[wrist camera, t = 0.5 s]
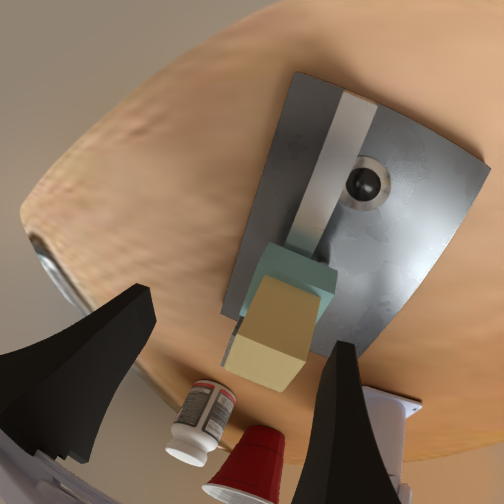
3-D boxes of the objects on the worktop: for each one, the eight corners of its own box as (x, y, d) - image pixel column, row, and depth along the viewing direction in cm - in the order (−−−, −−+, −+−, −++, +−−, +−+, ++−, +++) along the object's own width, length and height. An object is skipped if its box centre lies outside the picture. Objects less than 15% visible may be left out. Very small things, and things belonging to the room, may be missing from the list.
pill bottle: (193, 391, 38) (161, 452, 30) (196, 372, 34) (158, 440, 26) (233, 408, 37) (205, 471, 29) (241, 391, 34) (209, 463, 26)
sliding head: (316, 290, 21) (287, 400, 14) (262, 268, 21) (211, 369, 14) (341, 245, 18) (322, 359, 11) (280, 219, 18) (227, 321, 12)
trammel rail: (286, 341, 25) (270, 389, 21) (241, 322, 25) (219, 368, 21) (401, 114, 13) (420, 131, 9) (330, 83, 14) (320, 86, 10)
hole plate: (351, 357, 25) (350, 367, 24) (224, 305, 26) (219, 314, 25) (485, 163, 13) (492, 169, 12) (298, 71, 15) (294, 71, 14)
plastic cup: (289, 418, 34) (261, 503, 25) (310, 449, 39) (289, 518, 29) (217, 412, 39) (184, 482, 30) (247, 443, 44) (222, 504, 34)
